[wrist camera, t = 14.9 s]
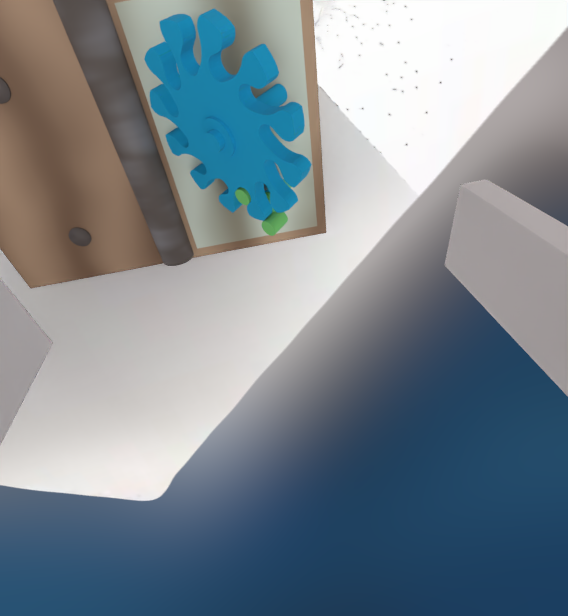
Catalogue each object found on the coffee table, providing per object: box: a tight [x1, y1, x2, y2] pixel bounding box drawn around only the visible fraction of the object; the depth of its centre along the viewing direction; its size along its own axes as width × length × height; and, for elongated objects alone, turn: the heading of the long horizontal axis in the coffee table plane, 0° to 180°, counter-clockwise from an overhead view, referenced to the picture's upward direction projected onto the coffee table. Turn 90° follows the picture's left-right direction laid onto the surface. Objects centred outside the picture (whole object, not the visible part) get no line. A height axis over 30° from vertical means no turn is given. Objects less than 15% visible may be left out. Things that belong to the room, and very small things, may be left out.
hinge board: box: [0, 0, 326, 288], centre depth 22 cm, size 23×16×2 cm
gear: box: [144, 9, 312, 236], centre depth 19 cm, size 11×6×10 cm
